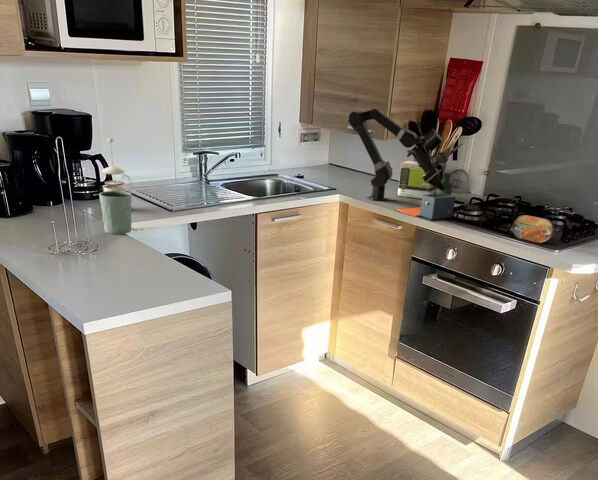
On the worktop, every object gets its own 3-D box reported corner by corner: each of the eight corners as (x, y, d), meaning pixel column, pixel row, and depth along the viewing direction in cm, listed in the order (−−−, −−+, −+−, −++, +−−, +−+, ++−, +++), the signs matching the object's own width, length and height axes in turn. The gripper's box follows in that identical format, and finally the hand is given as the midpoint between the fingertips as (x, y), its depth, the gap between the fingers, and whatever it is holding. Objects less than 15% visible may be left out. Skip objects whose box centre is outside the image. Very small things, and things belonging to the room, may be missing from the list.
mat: (396, 210, 252) (396, 209, 252) (421, 207, 259) (421, 207, 259) (415, 216, 244) (415, 215, 244) (440, 214, 251) (440, 213, 250)
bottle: (431, 205, 265) (437, 172, 258) (444, 205, 266) (450, 172, 259) (437, 208, 260) (443, 174, 253) (451, 208, 261) (456, 174, 254)
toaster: (417, 216, 244) (420, 194, 239) (439, 214, 250) (443, 192, 245) (431, 221, 238) (434, 198, 234) (453, 218, 244) (457, 196, 240)
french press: (98, 207, 229) (91, 136, 216) (127, 205, 235) (121, 135, 223) (110, 213, 222) (103, 140, 210) (139, 210, 229) (133, 139, 217)
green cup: (98, 229, 202) (94, 191, 196) (127, 225, 208) (123, 189, 202) (110, 236, 195) (106, 198, 189) (139, 232, 201) (136, 195, 195)
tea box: (433, 196, 283) (438, 163, 275) (428, 200, 275) (433, 166, 267) (402, 192, 288) (407, 159, 280) (396, 196, 280) (401, 162, 272)
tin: (510, 236, 223) (515, 213, 219) (514, 235, 225) (519, 212, 221) (548, 245, 214) (554, 221, 210) (552, 244, 216) (558, 220, 212)
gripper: (434, 147, 245) (457, 178, 247) (442, 143, 260) (463, 172, 262) (413, 166, 251) (435, 196, 253) (422, 160, 266) (442, 189, 268)
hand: (445, 188), depth 259 cm, fingers open, 9 cm apart
